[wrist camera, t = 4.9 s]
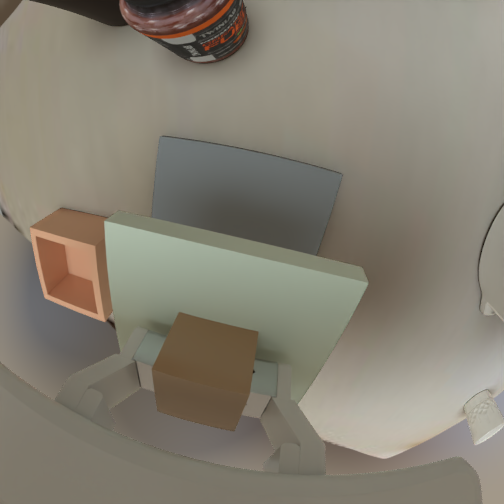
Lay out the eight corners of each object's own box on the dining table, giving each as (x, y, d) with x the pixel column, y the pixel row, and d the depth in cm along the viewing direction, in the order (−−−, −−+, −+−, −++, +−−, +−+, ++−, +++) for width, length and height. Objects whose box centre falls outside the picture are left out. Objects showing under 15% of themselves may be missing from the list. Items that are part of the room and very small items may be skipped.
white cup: (491, 382, 33) (508, 418, 24) (489, 395, 36) (503, 428, 27) (461, 402, 35) (475, 440, 27) (461, 414, 38) (473, 448, 29)
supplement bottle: (228, 75, 17) (177, 31, 7) (159, 53, 16) (67, 17, 6) (263, 13, 14) (253, -72, 4) (194, -6, 13) (133, -77, 3)
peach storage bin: (124, 221, 23) (95, 245, 18) (126, 291, 26) (105, 322, 22) (61, 207, 23) (29, 227, 18) (69, 273, 26) (44, 297, 22)
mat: (340, 173, 20) (342, 174, 19) (298, 299, 25) (298, 303, 25) (162, 135, 19) (159, 136, 19) (152, 266, 25) (149, 269, 24)
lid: (362, 267, 9) (392, 345, 6) (289, 401, 13) (286, 461, 10) (118, 210, 9) (52, 261, 6) (132, 362, 13) (106, 415, 10)
